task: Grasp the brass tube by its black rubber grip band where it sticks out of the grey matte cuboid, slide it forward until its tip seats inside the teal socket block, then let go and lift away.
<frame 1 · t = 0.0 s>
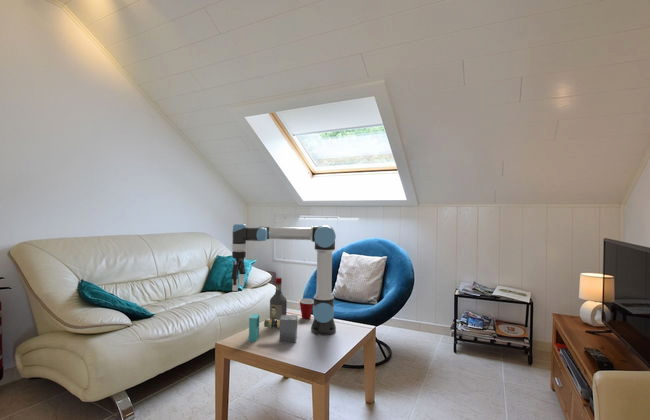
hand: (238, 288, 197), 28 cm above the table, fingers open, 13 cm apart
liquor: (277, 326, 217), on the table
grey matte cuboid: (288, 339, 194), on the table
brass tube: (280, 323, 194), point 9 cm above the table, slide at 0.0 cm
socket: (254, 338, 194), on the table
plastic cup: (306, 318, 234), on the table
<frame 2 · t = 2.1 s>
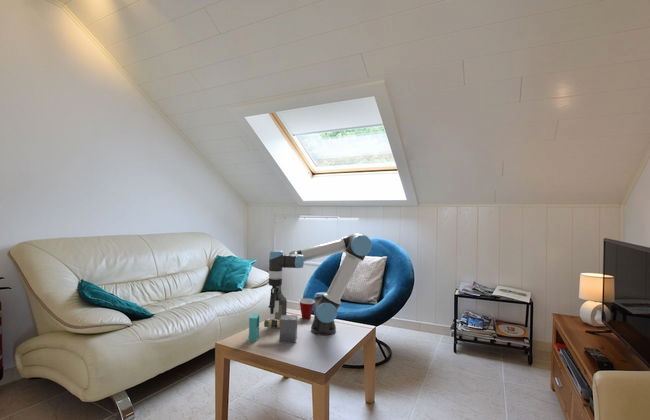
hand: (274, 315, 194), 13 cm above the table, fingers open, 13 cm apart
nothing on the table moved.
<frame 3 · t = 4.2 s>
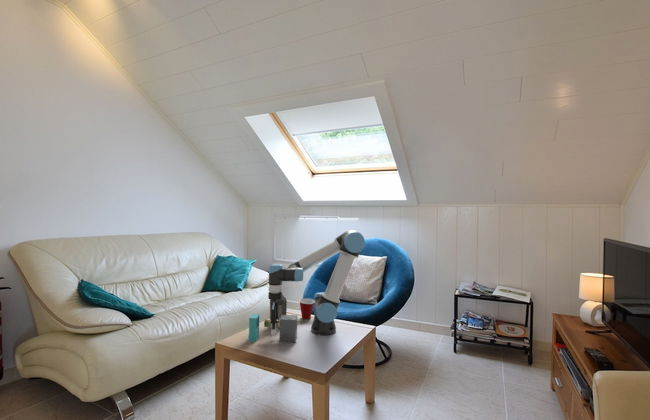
hand: (274, 332, 194), 4 cm above the table, fingers closed on brass tube, 5 cm apart
brass tube: (280, 323, 194), point 9 cm above the table, slide at 0.0 cm, touching gripper
everything else where it was.
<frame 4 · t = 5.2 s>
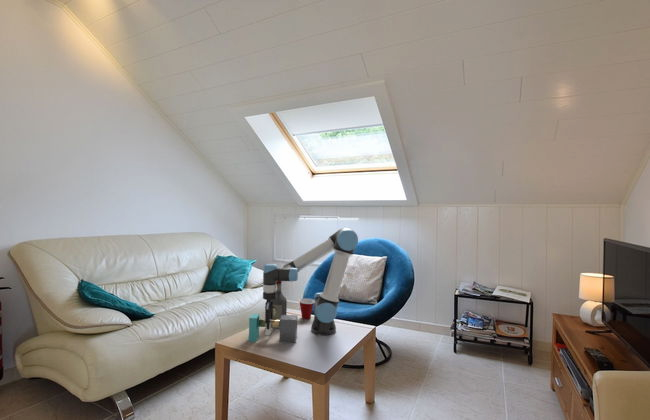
hand: (268, 332, 194), 4 cm above the table, fingers closed on brass tube, 5 cm apart
brass tube: (274, 323, 194), point 9 cm above the table, slide at 3.1 cm, touching gripper
everything else where it was.
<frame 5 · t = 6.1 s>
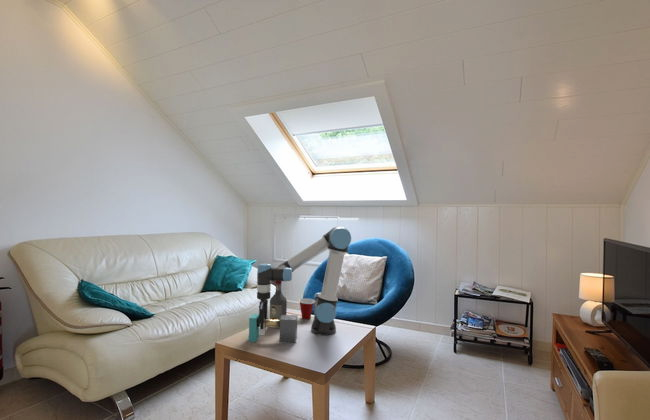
hand: (263, 332, 194), 4 cm above the table, fingers closed on brass tube, 5 cm apart
brass tube: (268, 323, 194), point 9 cm above the table, slide at 6.5 cm, touching gripper
everything else where it was.
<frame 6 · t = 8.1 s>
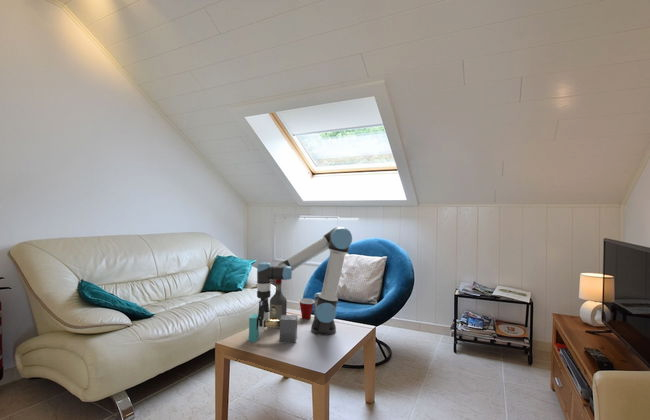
hand: (263, 327, 194), 6 cm above the table, fingers open, 13 cm apart
brass tube: (268, 323, 194), point 9 cm above the table, slide at 6.5 cm
everything else where it was.
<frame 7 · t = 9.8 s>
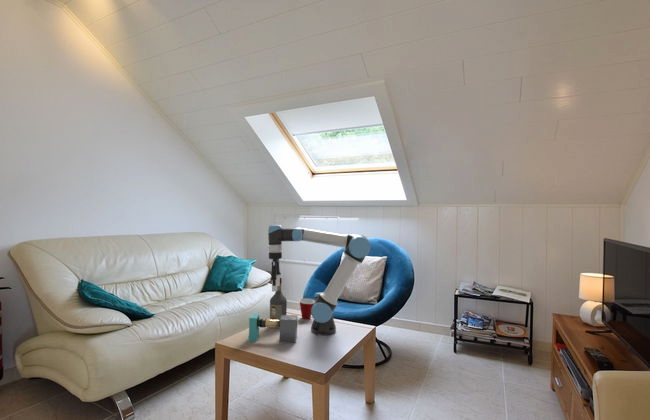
hand: (275, 288, 198), 28 cm above the table, fingers open, 13 cm apart
nothing on the table moved.
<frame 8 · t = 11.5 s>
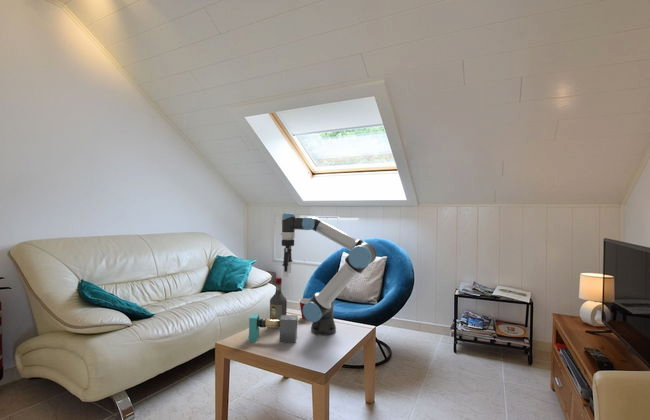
hand: (287, 274, 204), 35 cm above the table, fingers open, 13 cm apart
nothing on the table moved.
at the end: brass tube slide at 6.5 cm; the gripper is holding nothing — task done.
